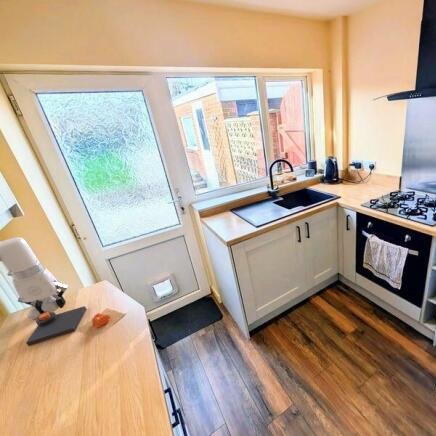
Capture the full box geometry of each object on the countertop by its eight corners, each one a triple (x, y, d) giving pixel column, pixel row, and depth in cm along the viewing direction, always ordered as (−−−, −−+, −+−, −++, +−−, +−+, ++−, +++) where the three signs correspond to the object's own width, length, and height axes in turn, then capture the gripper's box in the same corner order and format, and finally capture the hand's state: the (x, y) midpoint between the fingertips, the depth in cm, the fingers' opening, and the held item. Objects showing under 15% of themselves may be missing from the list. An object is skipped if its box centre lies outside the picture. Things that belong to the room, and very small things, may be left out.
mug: (23, 323, 104) (19, 300, 105) (51, 315, 114) (47, 293, 115) (35, 320, 103) (31, 297, 103) (62, 312, 112) (58, 290, 113)
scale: (26, 346, 93) (21, 340, 91) (44, 321, 104) (40, 315, 103) (75, 331, 97) (70, 325, 96) (87, 308, 109) (83, 302, 107)
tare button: (39, 322, 99) (37, 318, 99) (43, 316, 102) (41, 313, 101) (48, 319, 100) (46, 316, 100) (52, 314, 103) (49, 311, 102)
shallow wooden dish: (107, 308, 107) (102, 301, 105) (125, 314, 103) (121, 306, 101) (77, 330, 97) (72, 322, 96) (96, 338, 93) (91, 330, 91)
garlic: (66, 305, 97) (59, 295, 94) (50, 315, 92) (43, 305, 90) (57, 302, 99) (50, 292, 97) (41, 312, 94) (34, 302, 92)
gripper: (-11, 284, 82) (20, 323, 90) (51, 269, 87) (75, 307, 95) (4, 272, 88) (31, 309, 96) (61, 258, 93) (83, 295, 101)
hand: (53, 308), depth 95 cm, fingers closed on garlic, 5 cm apart
